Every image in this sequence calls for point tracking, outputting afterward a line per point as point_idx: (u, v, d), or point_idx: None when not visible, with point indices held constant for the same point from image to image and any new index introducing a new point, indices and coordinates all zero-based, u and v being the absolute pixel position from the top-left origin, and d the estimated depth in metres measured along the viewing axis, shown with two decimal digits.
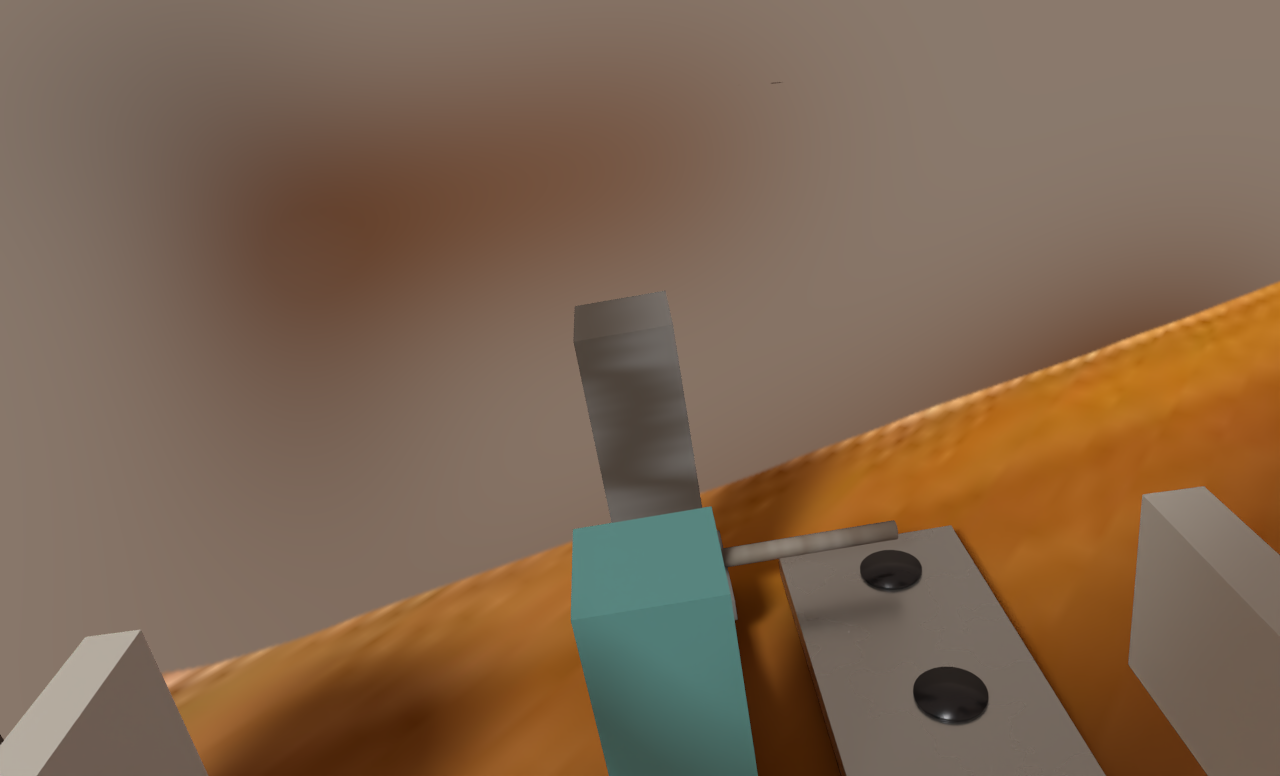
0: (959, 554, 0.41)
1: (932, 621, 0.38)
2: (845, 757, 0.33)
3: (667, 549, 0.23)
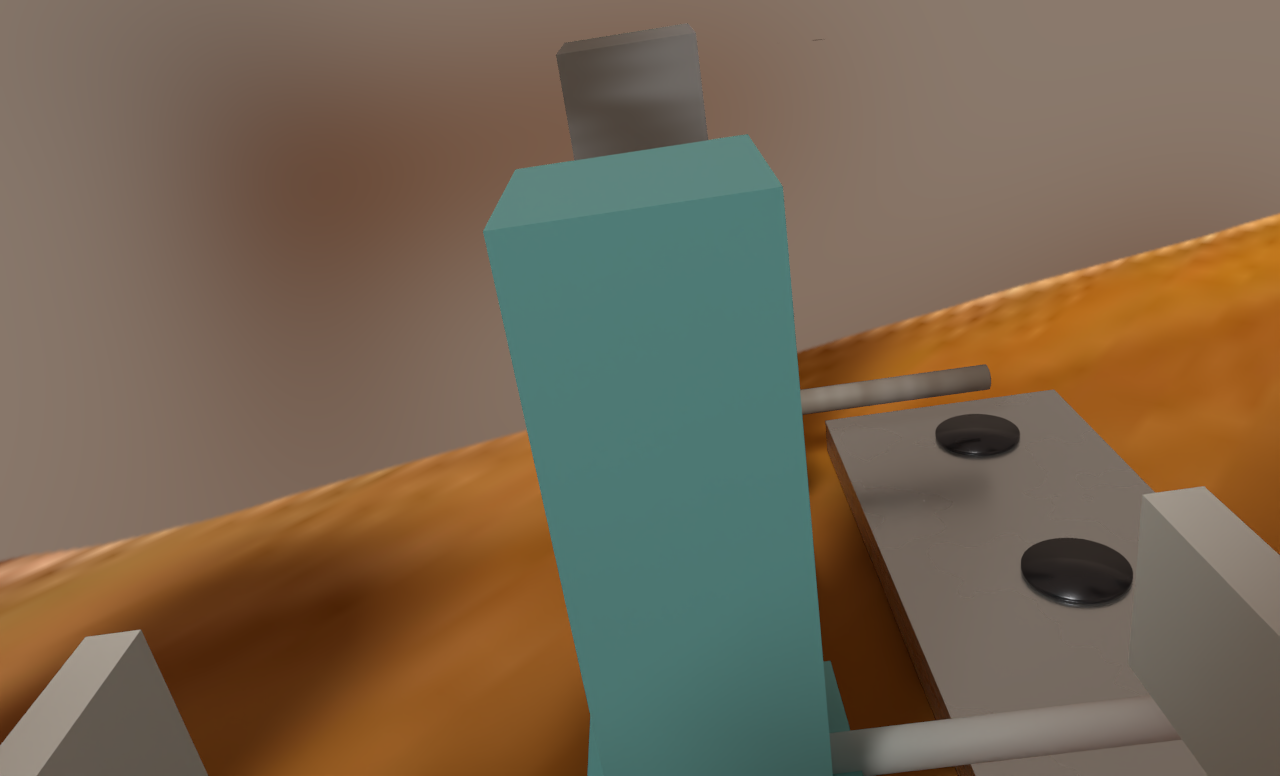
0: (1069, 418, 0.31)
1: (1040, 489, 0.28)
2: (927, 645, 0.23)
3: (669, 167, 0.13)
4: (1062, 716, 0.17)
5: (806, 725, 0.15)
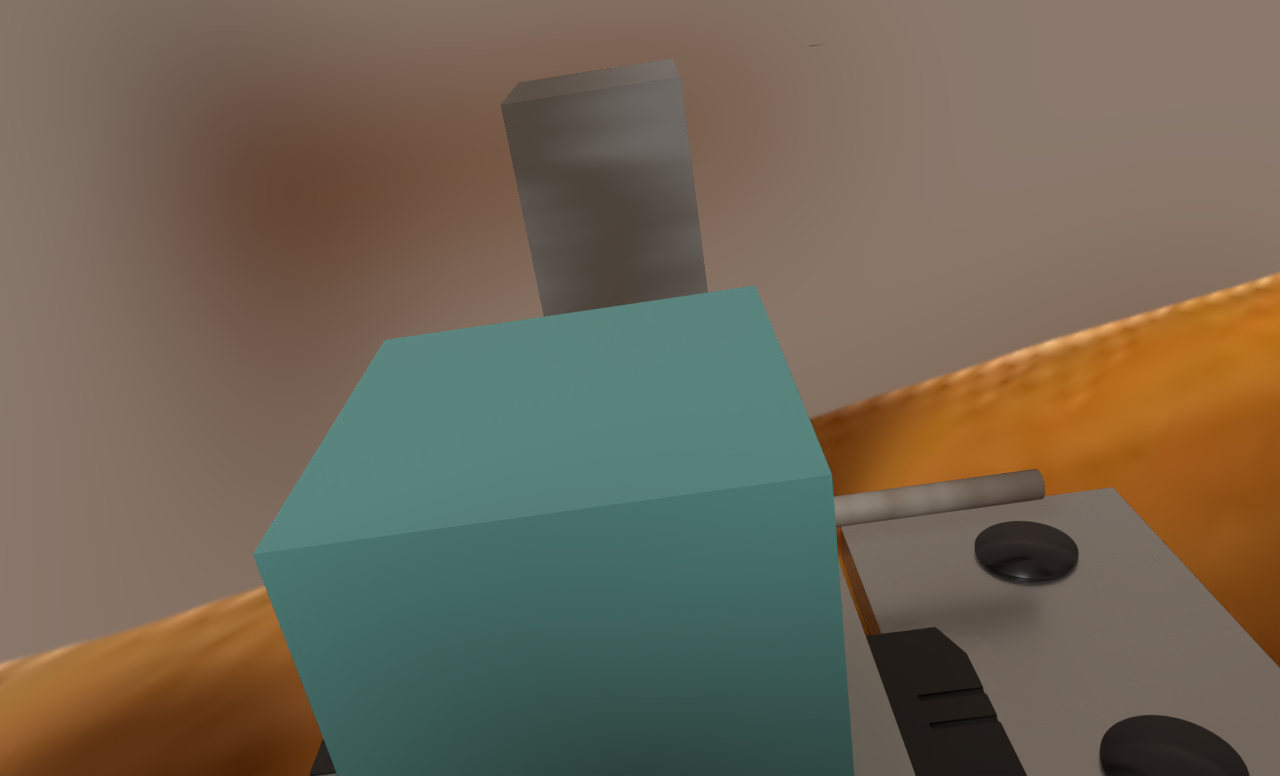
0: (1136, 529, 0.26)
1: (1111, 634, 0.22)
2: None
3: (624, 369, 0.08)
4: None
5: None
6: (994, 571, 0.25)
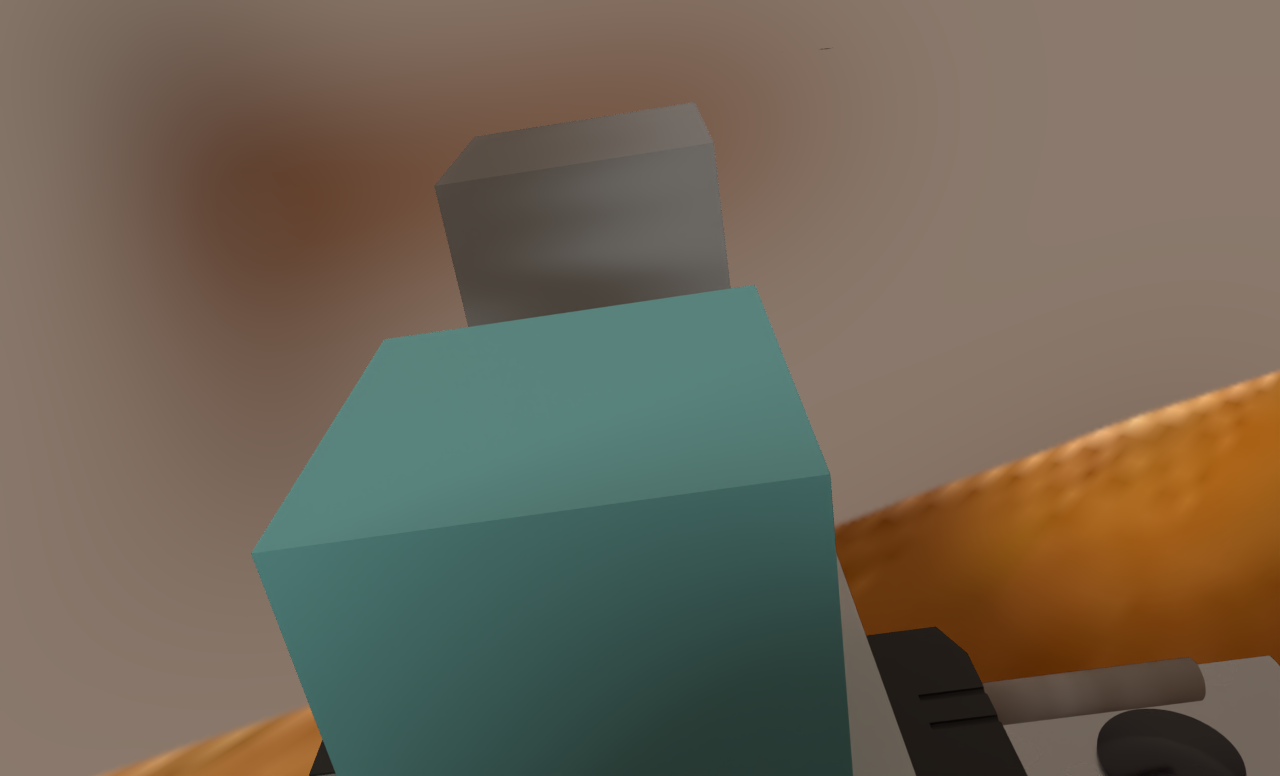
0: None
1: None
2: None
3: (623, 368, 0.08)
4: None
5: None
6: None
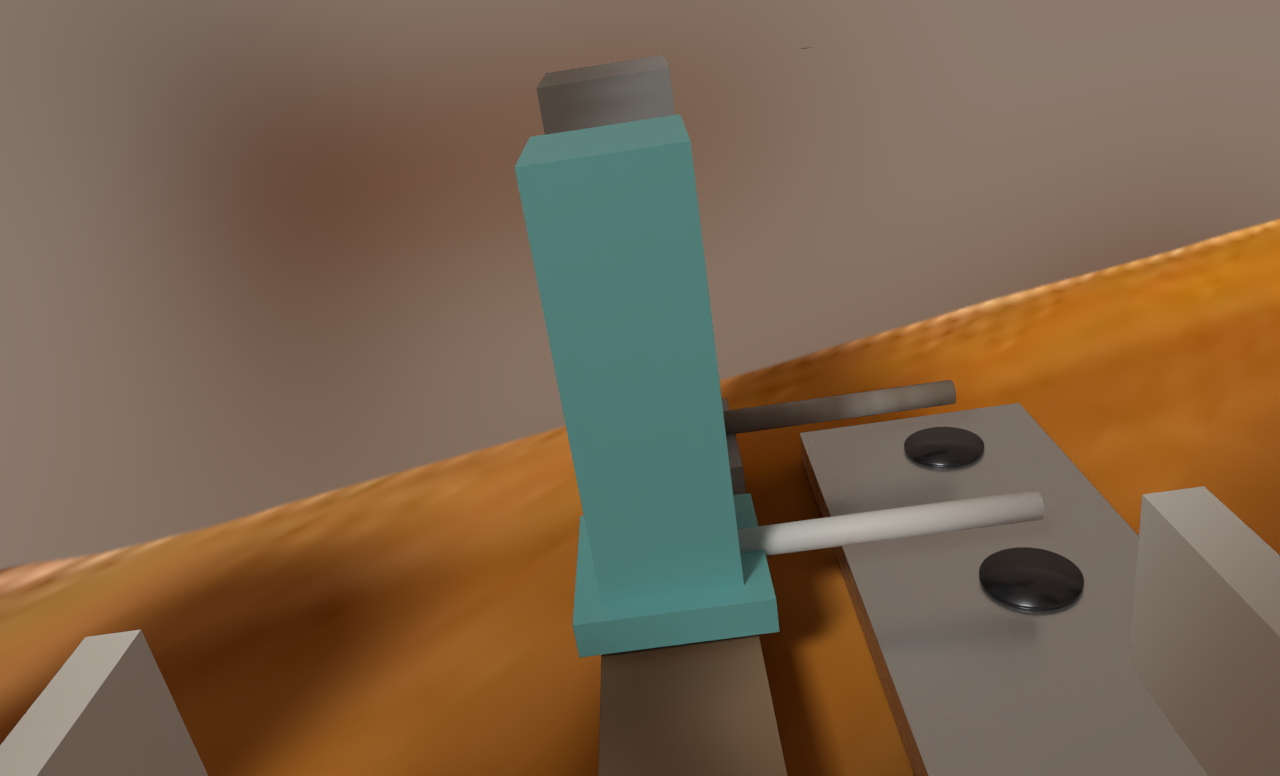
0: (1032, 431, 0.32)
1: None
2: (887, 650, 0.24)
3: (628, 133, 0.21)
4: (900, 512, 0.25)
5: (719, 497, 0.23)
6: (917, 461, 0.32)
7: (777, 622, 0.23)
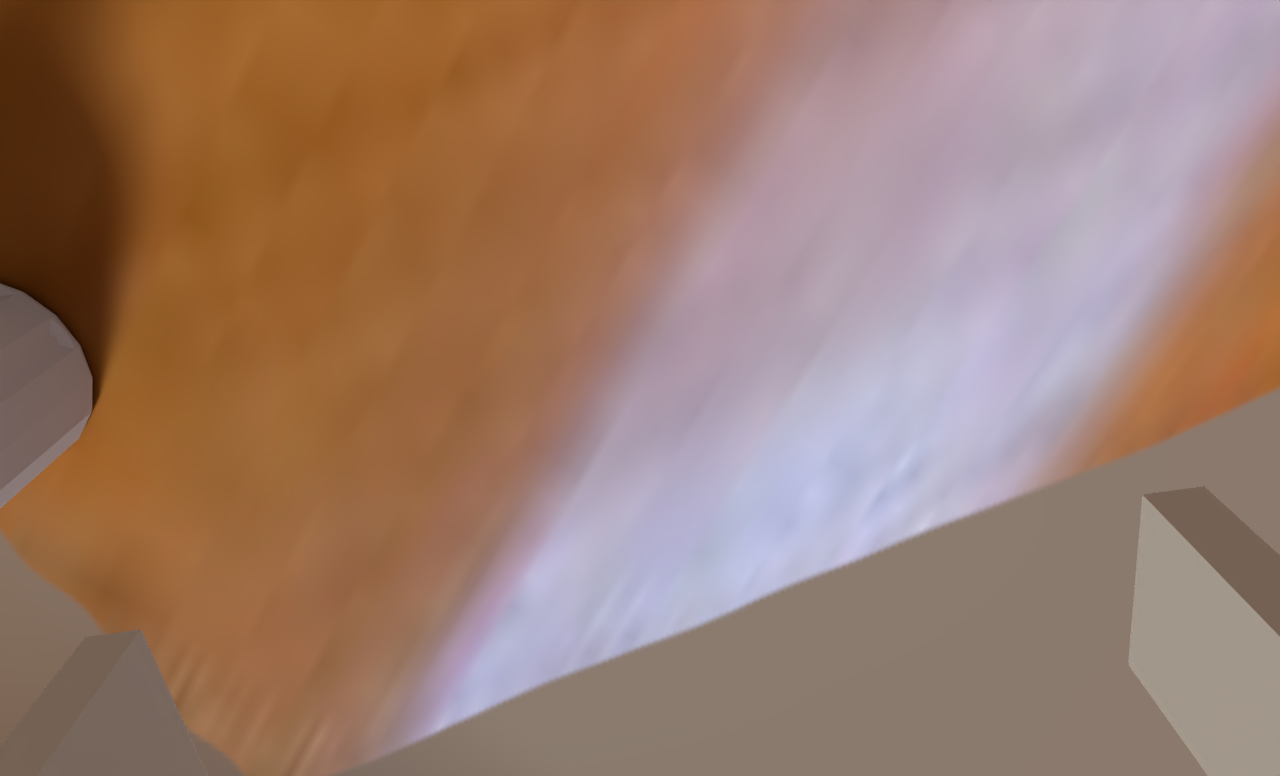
0: None
1: None
2: None
3: None
4: None
5: None
6: None
7: None
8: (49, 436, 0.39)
